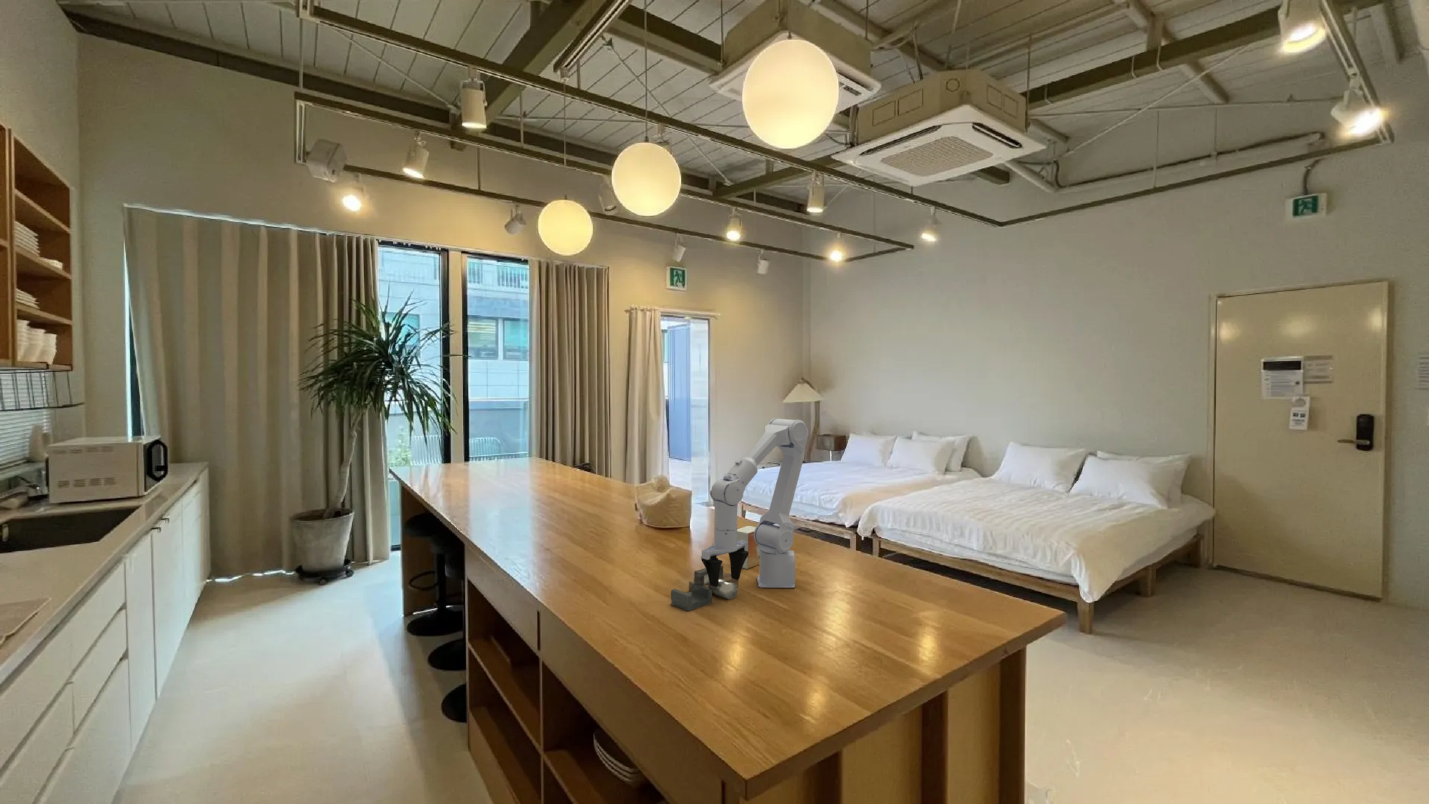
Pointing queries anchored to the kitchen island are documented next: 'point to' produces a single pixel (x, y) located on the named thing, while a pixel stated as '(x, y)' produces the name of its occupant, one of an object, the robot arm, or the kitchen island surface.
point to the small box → (749, 546)
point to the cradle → (692, 597)
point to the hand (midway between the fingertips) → (724, 582)
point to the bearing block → (702, 572)
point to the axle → (723, 588)
